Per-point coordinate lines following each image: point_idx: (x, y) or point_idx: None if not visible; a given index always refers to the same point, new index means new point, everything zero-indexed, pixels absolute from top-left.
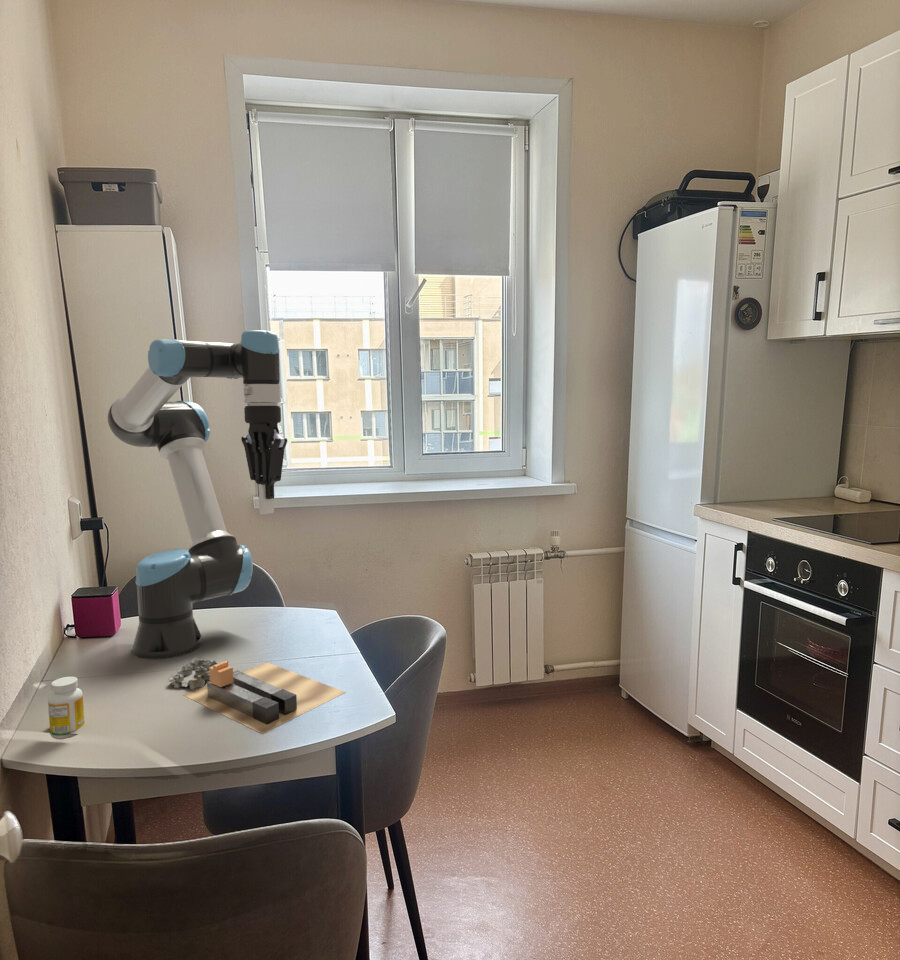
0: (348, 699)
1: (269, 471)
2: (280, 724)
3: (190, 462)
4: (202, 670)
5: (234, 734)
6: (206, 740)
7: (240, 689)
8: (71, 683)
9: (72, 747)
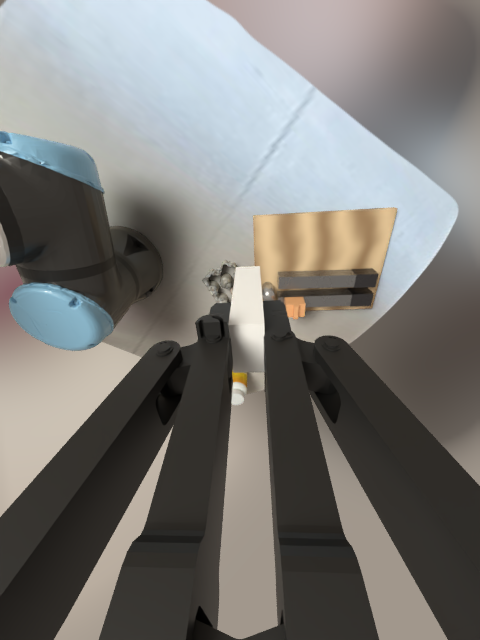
0: (398, 207)
1: (334, 428)
2: (375, 291)
3: None
4: (231, 285)
5: (341, 312)
6: (329, 328)
7: (319, 298)
8: (243, 398)
9: (260, 375)
